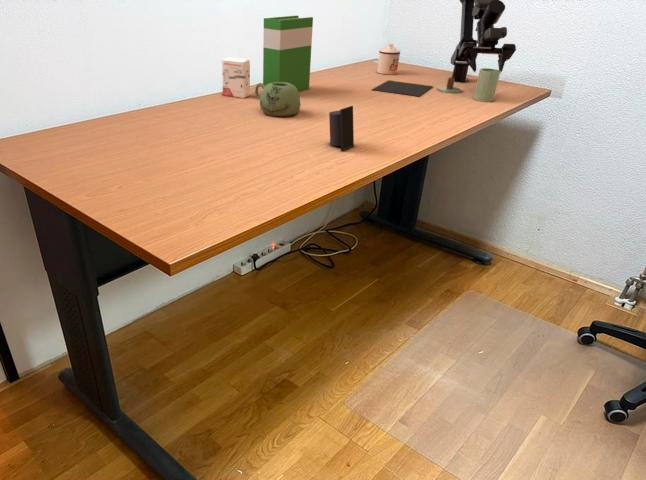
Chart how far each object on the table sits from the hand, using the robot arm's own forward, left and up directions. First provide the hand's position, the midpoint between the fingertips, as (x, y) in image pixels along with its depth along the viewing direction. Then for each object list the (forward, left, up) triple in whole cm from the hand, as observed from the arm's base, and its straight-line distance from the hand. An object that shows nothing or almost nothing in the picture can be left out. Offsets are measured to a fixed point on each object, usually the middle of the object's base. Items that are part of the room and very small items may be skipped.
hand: (488, 71), depth 179 cm
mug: (+60, -53, -9) cm, 81 cm away
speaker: (+80, -23, -9) cm, 84 cm away
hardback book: (+32, -64, -9) cm, 72 cm away
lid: (-6, -13, -9) cm, 17 cm away
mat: (+2, -29, -9) cm, 31 cm away
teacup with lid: (-26, -44, -9) cm, 52 cm away
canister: (+2, +1, -9) cm, 9 cm away
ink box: (+49, -75, -9) cm, 90 cm away
